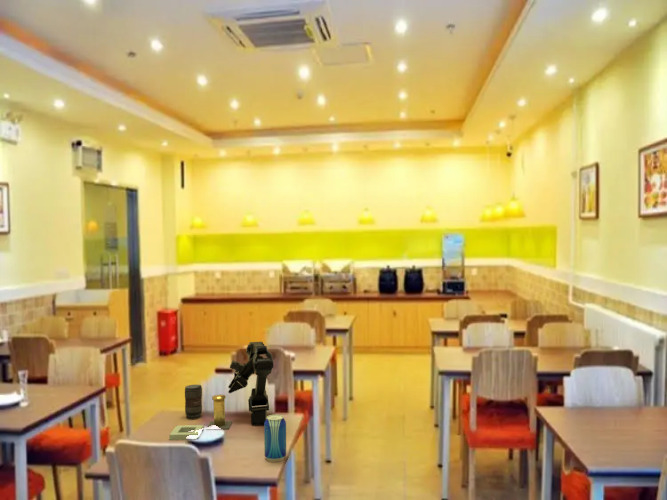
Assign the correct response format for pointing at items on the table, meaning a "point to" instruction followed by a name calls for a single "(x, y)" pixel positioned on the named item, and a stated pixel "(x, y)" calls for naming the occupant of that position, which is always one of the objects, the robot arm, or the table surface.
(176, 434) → the housing
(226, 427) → the mat
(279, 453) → the beer can
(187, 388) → the camera lens
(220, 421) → the brass cover
